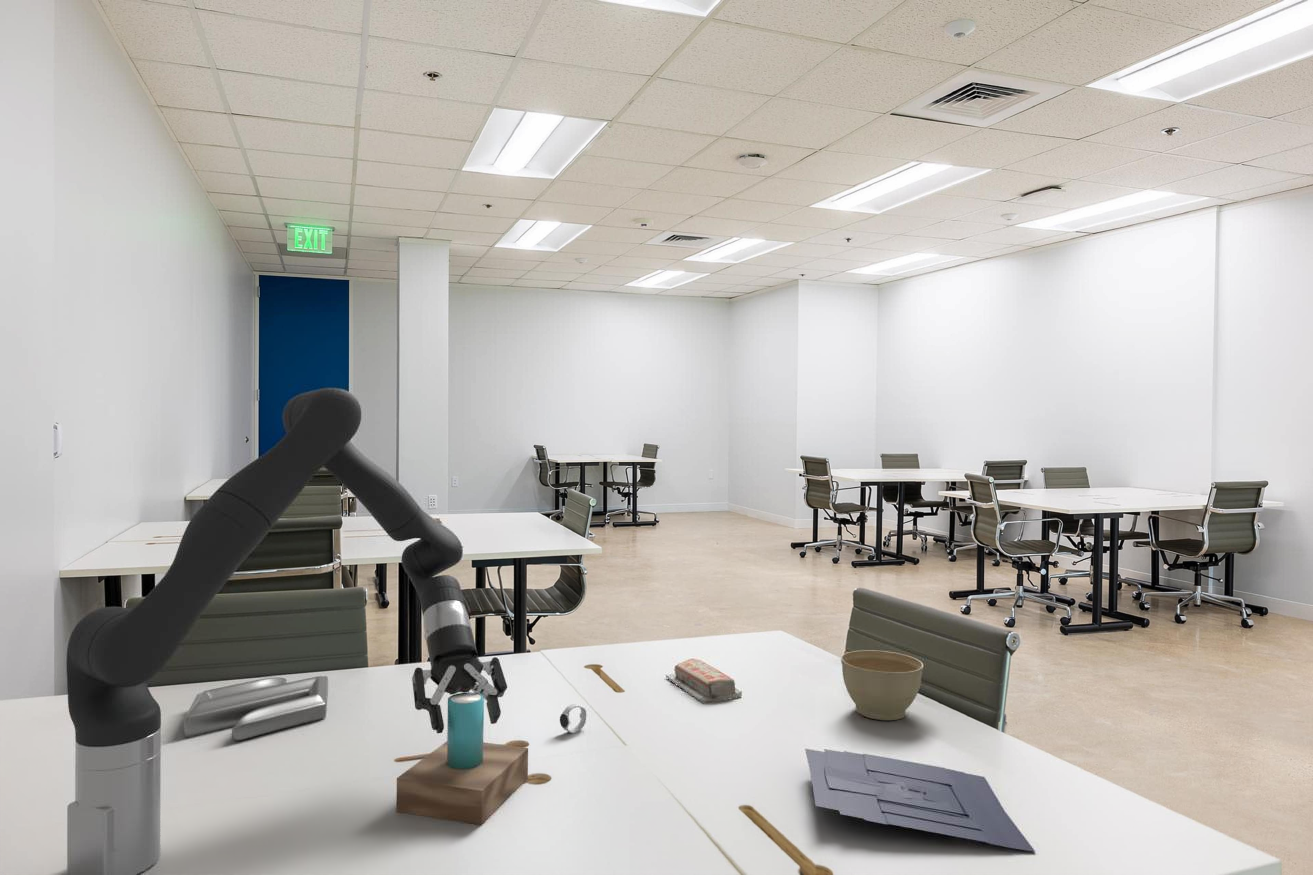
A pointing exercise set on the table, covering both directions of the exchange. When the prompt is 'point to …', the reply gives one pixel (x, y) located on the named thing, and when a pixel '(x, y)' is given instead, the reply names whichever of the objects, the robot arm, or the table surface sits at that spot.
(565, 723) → the wristwatch
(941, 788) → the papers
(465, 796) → the wooden square base
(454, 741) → the tumbler
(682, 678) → the packaged product
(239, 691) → the emblem
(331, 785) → the table surface
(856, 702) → the planter bowl
